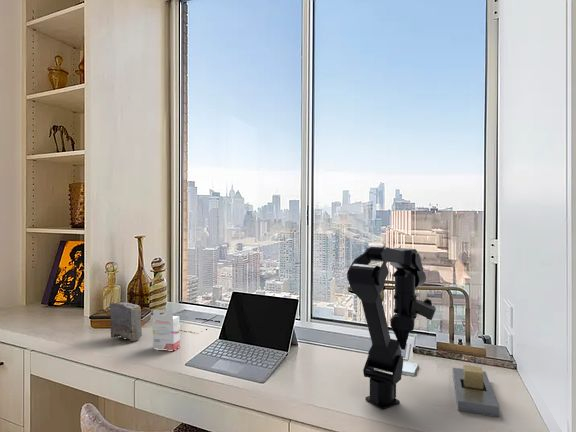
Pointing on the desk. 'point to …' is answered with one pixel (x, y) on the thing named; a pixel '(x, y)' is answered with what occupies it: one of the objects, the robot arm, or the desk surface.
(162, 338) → the ink cartridge box
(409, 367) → the hard drive
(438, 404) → the desk surface
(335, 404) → the desk surface
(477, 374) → the brass block
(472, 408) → the grey flat rectangular block
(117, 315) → the geological specimen
